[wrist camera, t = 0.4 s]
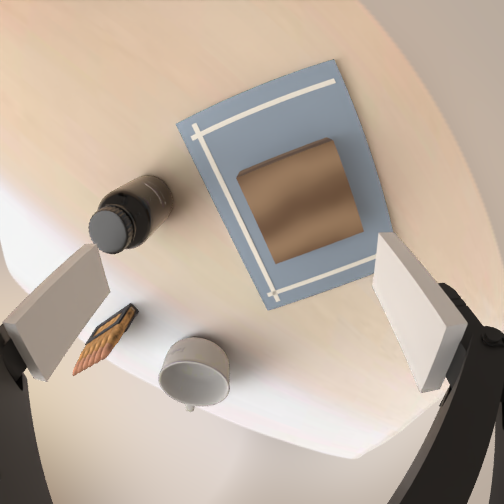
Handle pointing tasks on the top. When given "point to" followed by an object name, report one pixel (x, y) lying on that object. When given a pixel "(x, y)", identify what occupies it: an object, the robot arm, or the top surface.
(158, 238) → the top surface
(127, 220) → the supplement bottle
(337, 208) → the walnut plinth
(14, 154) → the top surface
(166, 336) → the top surface
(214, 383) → the teacup
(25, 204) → the top surface
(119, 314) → the ammunition clip
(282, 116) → the board
